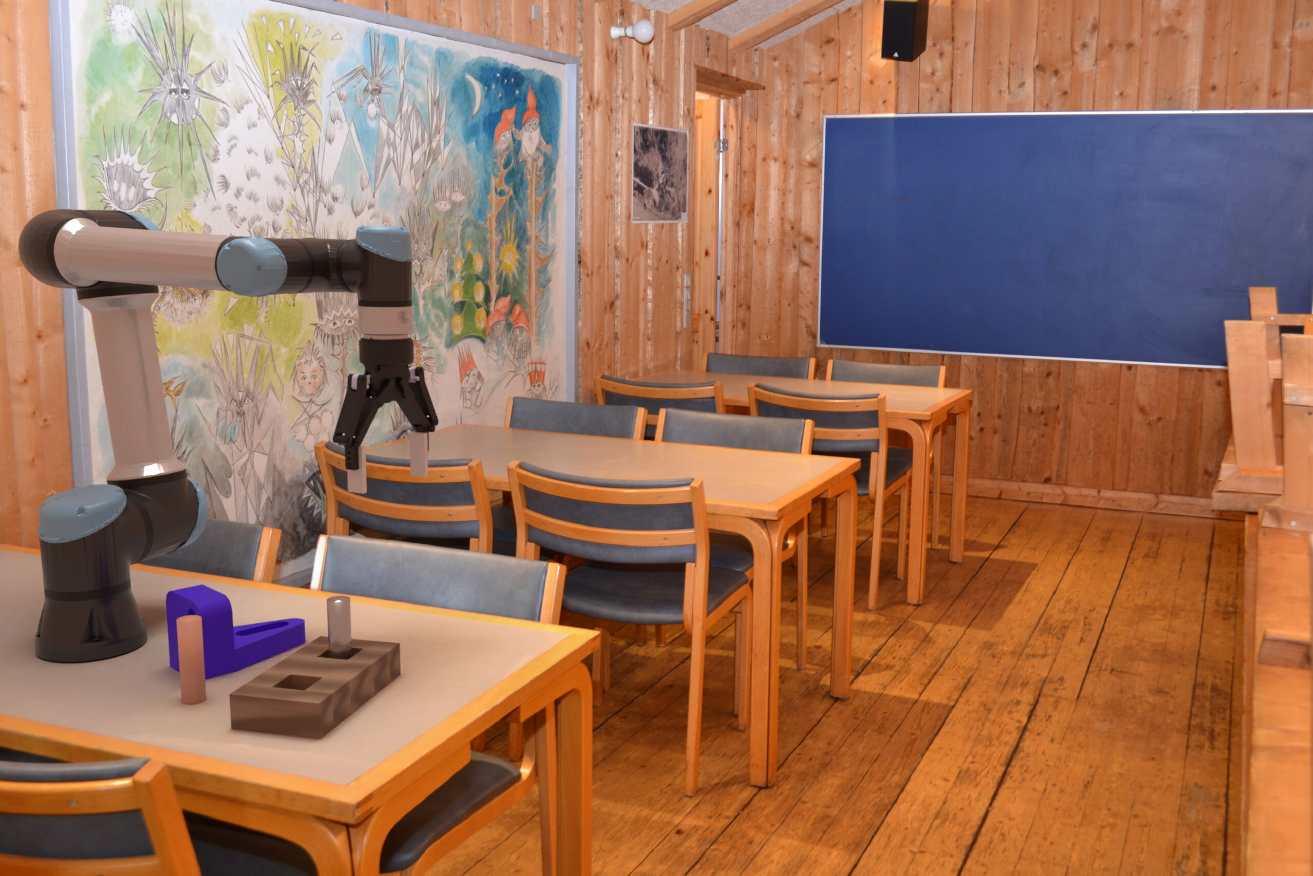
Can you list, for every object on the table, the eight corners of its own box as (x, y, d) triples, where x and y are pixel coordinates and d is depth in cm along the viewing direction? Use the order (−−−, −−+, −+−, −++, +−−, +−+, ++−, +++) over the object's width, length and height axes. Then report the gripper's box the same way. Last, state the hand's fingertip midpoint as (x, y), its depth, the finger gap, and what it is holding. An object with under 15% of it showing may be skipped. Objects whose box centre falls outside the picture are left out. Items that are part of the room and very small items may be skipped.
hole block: (320, 746, 140) (318, 703, 139) (231, 736, 143) (229, 694, 142) (400, 681, 161) (399, 643, 160) (322, 673, 164) (320, 636, 163)
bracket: (204, 688, 159) (199, 605, 157) (170, 667, 166) (165, 588, 164) (323, 655, 171) (320, 578, 169) (286, 638, 179) (283, 564, 177)
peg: (177, 710, 151) (171, 621, 149) (191, 701, 154) (185, 614, 152) (197, 712, 150) (192, 623, 148) (211, 704, 153) (206, 616, 151)
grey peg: (326, 687, 156) (322, 601, 154) (337, 679, 159) (333, 594, 157) (346, 689, 155) (343, 603, 153) (357, 681, 158) (354, 596, 156)
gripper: (345, 344, 152) (350, 503, 155) (461, 332, 174) (462, 471, 177) (302, 340, 155) (307, 496, 159) (420, 329, 177) (423, 466, 181)
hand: (389, 483), depth 168 cm, fingers open, 13 cm apart
